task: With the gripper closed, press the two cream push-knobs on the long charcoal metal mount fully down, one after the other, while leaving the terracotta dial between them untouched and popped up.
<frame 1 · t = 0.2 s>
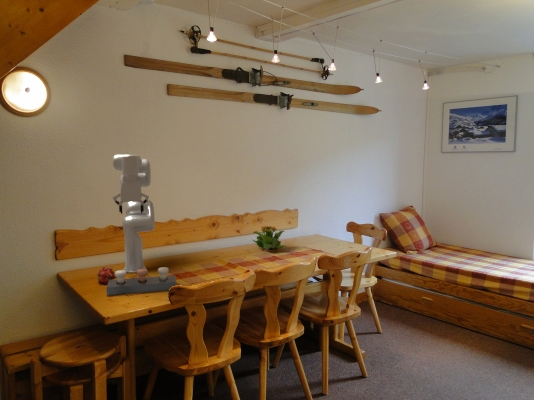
hand: (131, 213, 209), 36 cm above the table, tool pointing down, fingers open, 9 cm apart
knob b: (120, 277, 200), point 6 cm above the table, slide at 3.0 cm
knob a: (163, 274, 205), point 6 cm above the table, slide at 3.0 cm
potted flower: (270, 250, 285), on the table
dragon fruit: (106, 282, 214), on the table
dial: (142, 276, 203), point 6 cm above the table, slide at 3.0 cm
knob mount: (142, 288, 203), on the table
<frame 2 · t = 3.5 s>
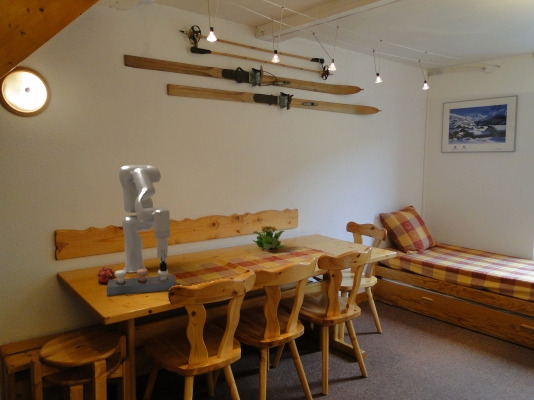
hand: (163, 270, 205), 9 cm above the table, tool pointing down, fingers closed
knob a: (163, 276, 205), point 5 cm above the table, slide at 2.0 cm, touching gripper
everything else where it was.
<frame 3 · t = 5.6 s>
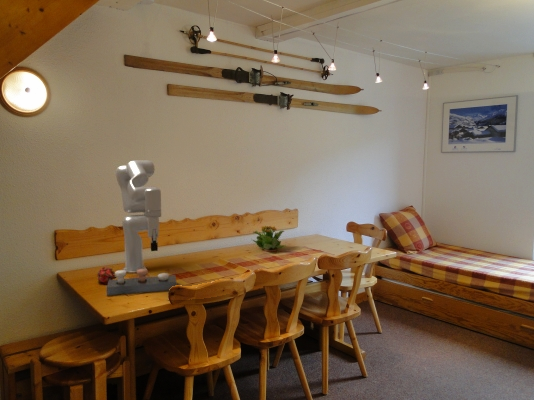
hand: (154, 250, 203), 19 cm above the table, tool pointing down, fingers closed
knob a: (163, 280, 206), point 3 cm above the table, slide at -0.1 cm
everything else where it was.
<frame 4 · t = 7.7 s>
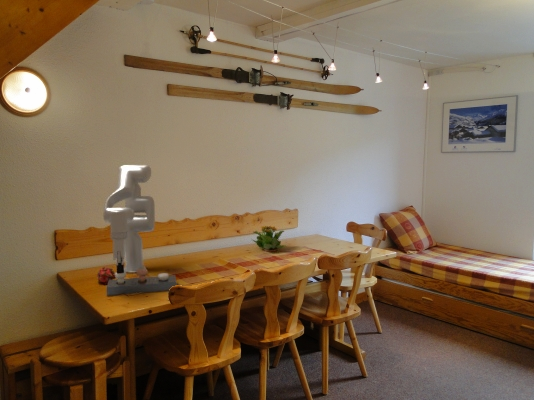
hand: (120, 272, 199), 9 cm above the table, tool pointing down, fingers closed
knob b: (120, 278, 200), point 6 cm above the table, slide at 2.4 cm, touching gripper
everything else where it was.
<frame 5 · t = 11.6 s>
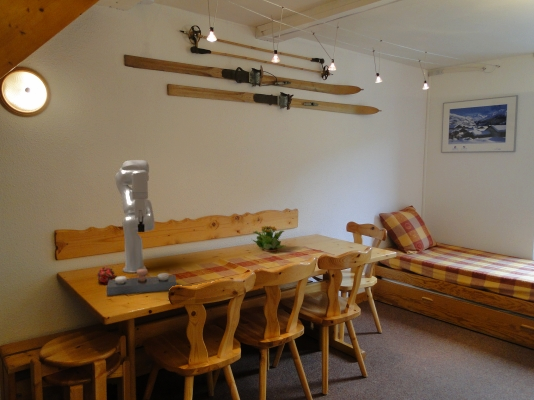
hand: (141, 231, 208), 27 cm above the table, tool pointing down, fingers closed
knob b: (120, 283, 200), point 3 cm above the table, slide at -0.1 cm
everything else where it was.
at the end: knob a slide at -0.1 cm; knob b slide at -0.1 cm; dial slide at 3.0 cm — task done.
